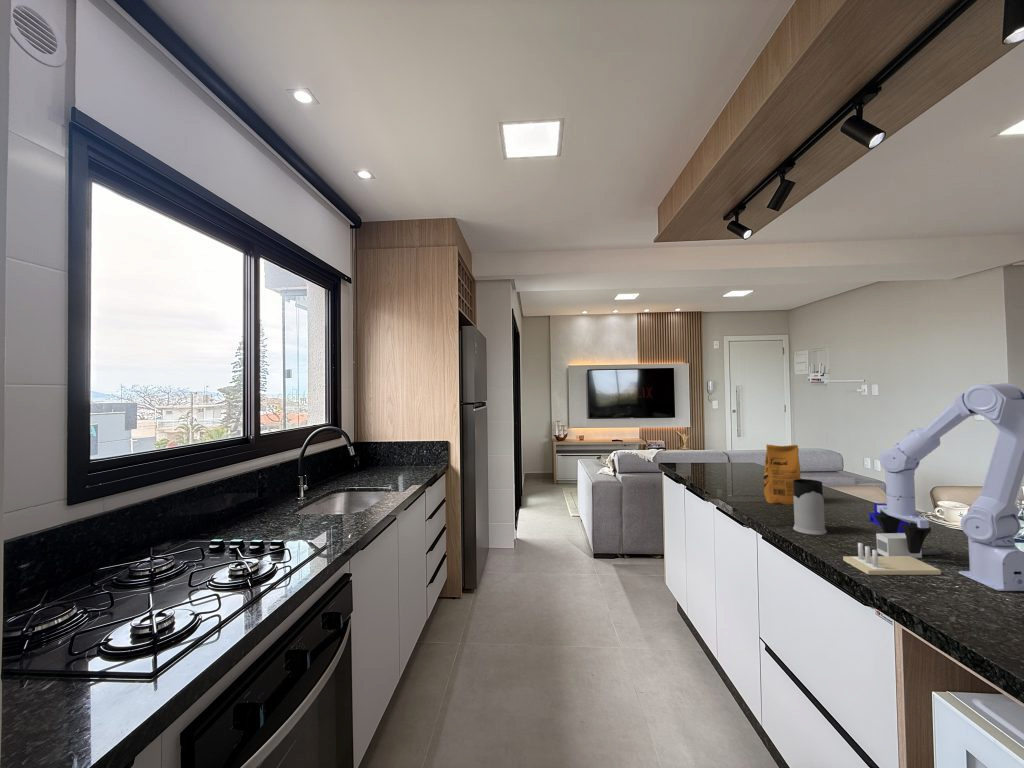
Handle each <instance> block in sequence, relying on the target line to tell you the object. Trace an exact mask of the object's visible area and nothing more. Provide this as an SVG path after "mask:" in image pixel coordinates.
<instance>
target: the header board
mask: <svg viewBox="0 0 1024 768" xmlns="http://www.w3.org/2000/svg"><path fill="white" fill-rule="evenodd" d="M871 552H872V553H871ZM857 553H858V555H857V556H854V555H853V556H851V555H850V556H846V555H845V556H842V559H843V561H844V562H846V563H847V564H849V565H851V566H852V567H854V568H856V569H857V570H860V571H862V572H863V573H864V574H867V575H869V576H881V575H882V576H883V575H884V576H887V575H889V576H894V575H895V576H900V575H901V576H902V575H903V576H904V575H906V576H909V575H912V576H914V575H917V576H920V575H921V576H922V575H923V576H924V575H927V576H928V575H933V576H934V575H935V576H936V575H940V576H941V575H942V570H941V569H939V568H937V567H934V566H932V565H930V564H928V563H926V562H924V561H922V560H919V559H918V558H913V557H911V556H884V555H879V553H878V551H877V549H872V550H871V546H869V545H865V546H864V543H863V542H857ZM871 554H872V555H871ZM864 555H865V556H864ZM878 555H879V556H878Z"/></svg>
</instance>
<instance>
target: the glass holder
mask: <svg viewBox="0 0 1024 768" xmlns="http://www.w3.org/2000/svg"><path fill="white" fill-rule="evenodd" d="M793 484H794V496H793V499H794V505H793V515H794V516H793V517H794V518H793V519H794V520H793V521H794V525H793V527H792V529H793V530H794V531H795V532H797V533H802V534H807V535H815V536H816V535H818V536H819V535H820V536H821V535H826V534H827V533H828V531H827V529H826V526H825V525H826V523H825V521H826V520H825V500H824V494H823V493H824V492H823V489H824V488H823V482H822V481H820V480H817V479H816V480H815V479H810V478H809V479H806V478H800V479H796V480H793Z"/></svg>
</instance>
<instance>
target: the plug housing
mask: <svg viewBox="0 0 1024 768" xmlns="http://www.w3.org/2000/svg"><path fill="white" fill-rule="evenodd" d="M875 535H876V550H877V551H878V555H880V556H911V557H913V558H915V559H918V558H919V559H923V556H940V555H941V554H942V551H941V550H939V549H936V548H933V549H929V548H928V549H927V548H925V549H922V548H921V551H920V553H909V550H908V545H907V538H906V535H905V533H883V532H882V533H881V532H879V533H876V534H875Z"/></svg>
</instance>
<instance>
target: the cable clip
mask: <svg viewBox="0 0 1024 768" xmlns="http://www.w3.org/2000/svg"><path fill="white" fill-rule="evenodd" d="M877 505H886V506H887V503H880V502H879V503H878V502H876V503H873V507H874V509H873V510H874V512H869V513H868V514H869V515H868V517H869V522H870V521H871V523H872V522H873V524H874V523H875V525H876V524H877V526H879V527H881V526H880V524H879V522H878V521H877V519H876V518H875V515H880V514H881V513H879V512H877ZM901 525H910V523H908V522H906V521H903V520H900V523H899V526H898V533H905V532H904V530H903V528H902V527H901Z"/></svg>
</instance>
